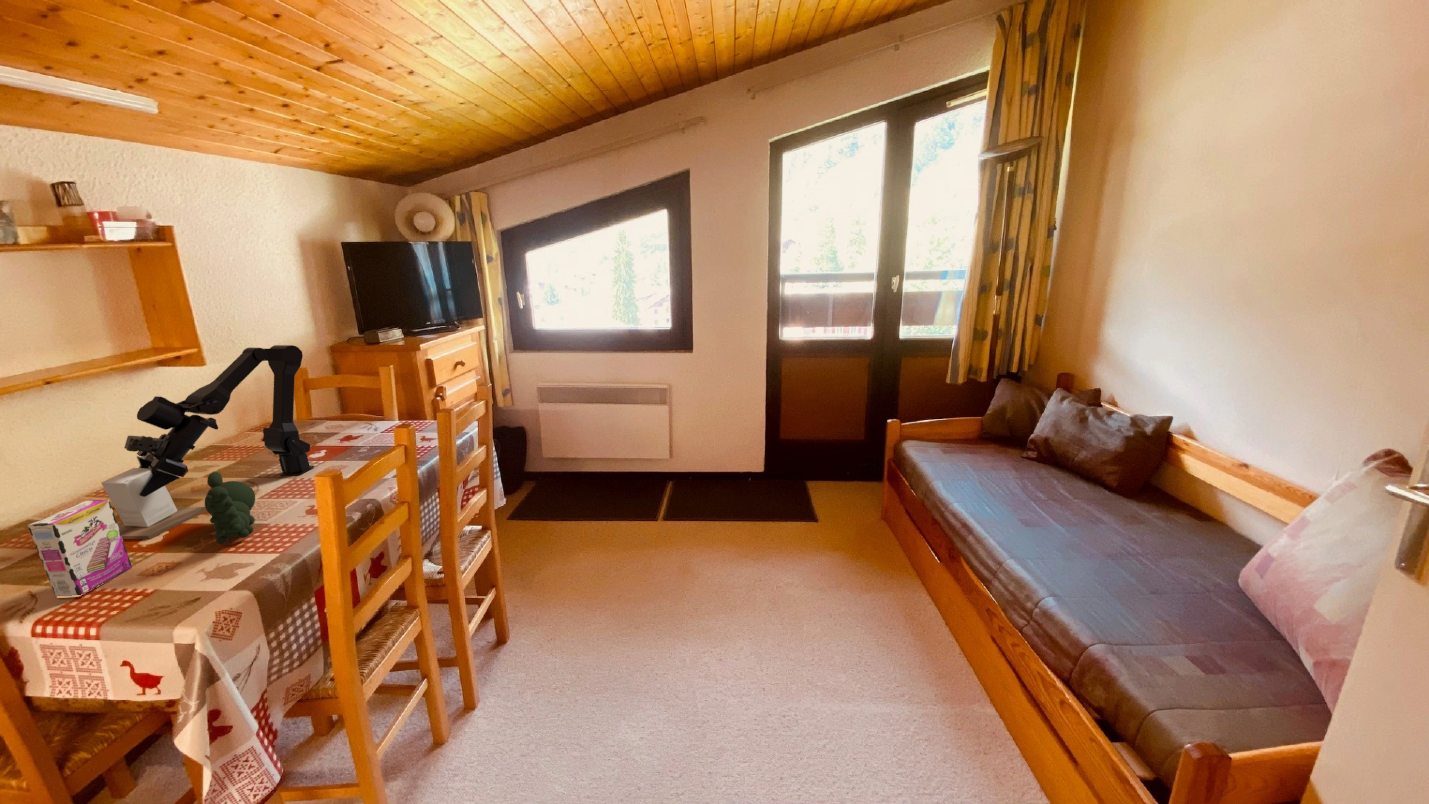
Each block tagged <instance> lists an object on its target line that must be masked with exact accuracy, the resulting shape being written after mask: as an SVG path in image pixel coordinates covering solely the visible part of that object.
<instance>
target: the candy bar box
mask: <svg viewBox="0 0 1429 804" xmlns="http://www.w3.org/2000/svg"><path fill="white" fill-rule="evenodd" d="M27 528H28V530H29V533H30V536H31V537H32V540H33V543H34V545H35V548H36V550H37V552H38V555H39V558H40V560H41V563H42V564H43V568H44V570H45V573H46V575H47V578H48V580H49V583H50V585H51V588H52V591H53V594H54V596H55V598H56V597H57V596H72V595H81V594H84V593H85V592H87V591H90V590H91V589H93V588H96V587H97V586H98V585H101V584H102V583H104V584H106V583H107V581H108V580H109V581H111V580H113V579H114V578H116V577H118V576H119V574H120V575H122V574H123V573H125V572H127V571H129V570H130V569H131V568H133V565H132V563H131V559H130V557H129V554H128V550H127V548H126V546H125V542H124V540H123V538H122V536H121V533H120V531H119V527H118V522H117V518H116V517H115V513H114V510H113V508H112V505H111V500H110V499H94V500H85V501H82V502H80V503H77V504H75V505H72V506H71V507H68V508H66V509H64V510H61V511H58V512H56V513H54V514H51V515H49V516H47V517H44V518H42V519H39V520H37V521H35V522H32V523H30V524H28V525H27ZM112 578H113V579H112ZM109 581H108V582H109ZM105 582H106V583H105ZM101 586H102V585H101ZM96 589H97V588H96Z"/></svg>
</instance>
